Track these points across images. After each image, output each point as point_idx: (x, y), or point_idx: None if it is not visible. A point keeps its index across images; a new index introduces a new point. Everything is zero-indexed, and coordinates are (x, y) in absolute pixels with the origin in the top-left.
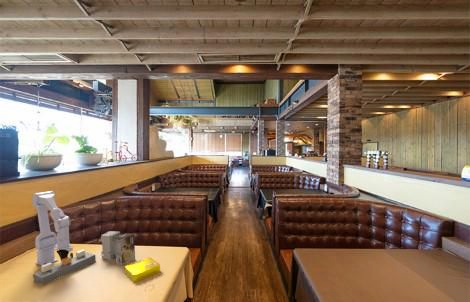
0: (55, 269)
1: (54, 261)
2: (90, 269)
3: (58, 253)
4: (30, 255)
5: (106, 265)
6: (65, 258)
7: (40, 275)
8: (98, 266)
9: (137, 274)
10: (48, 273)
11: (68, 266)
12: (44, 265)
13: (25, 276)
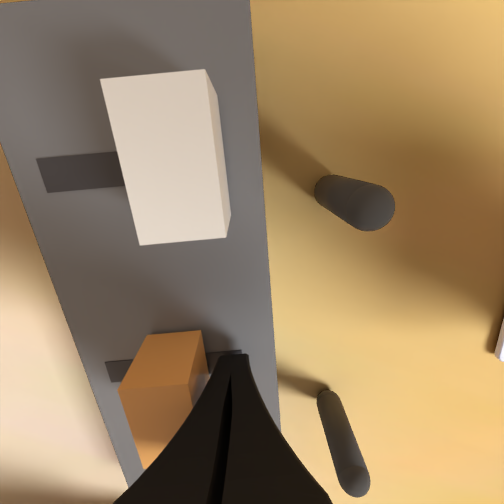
0: (119, 237)
1: (501, 333)
2: (39, 409)
3: (263, 471)
4: None
5: (13, 479)
6: (161, 419)
7: (78, 26)
8: (45, 452)
9: None
10: (54, 131)
11: (77, 346)
12: (166, 123)
13: (491, 32)
